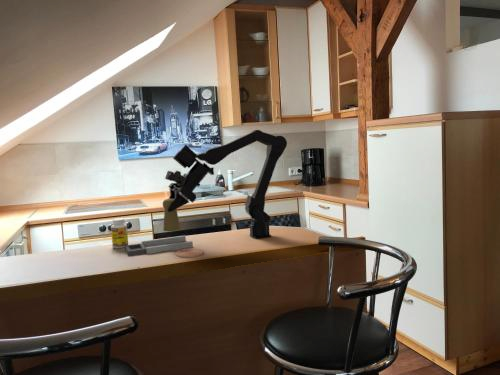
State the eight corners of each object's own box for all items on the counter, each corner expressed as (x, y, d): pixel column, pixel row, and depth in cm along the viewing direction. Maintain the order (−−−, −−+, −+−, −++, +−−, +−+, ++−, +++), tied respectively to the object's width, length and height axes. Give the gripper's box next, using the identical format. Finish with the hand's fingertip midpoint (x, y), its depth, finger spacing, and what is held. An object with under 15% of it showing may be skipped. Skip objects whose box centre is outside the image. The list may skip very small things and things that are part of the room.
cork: (178, 230, 146) (176, 199, 144) (161, 231, 146) (159, 200, 144) (181, 227, 152) (179, 197, 150) (165, 227, 152) (163, 198, 150)
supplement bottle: (110, 249, 149) (108, 221, 148) (115, 245, 155) (112, 218, 153) (126, 248, 149) (124, 220, 148) (130, 244, 155) (128, 217, 154)
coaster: (199, 248, 145) (199, 246, 144) (207, 254, 136) (207, 252, 136) (173, 252, 141) (173, 250, 141) (180, 258, 133) (180, 257, 133)
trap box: (142, 247, 150) (142, 243, 150) (146, 253, 141) (146, 248, 141) (125, 249, 147) (124, 245, 147) (128, 255, 139) (128, 251, 139)
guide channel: (185, 240, 157) (184, 235, 157) (192, 247, 147) (192, 241, 146) (141, 246, 151) (141, 241, 150) (147, 253, 141) (146, 248, 140)
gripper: (172, 161, 156) (144, 193, 153) (184, 163, 139) (153, 199, 136) (193, 180, 160) (167, 211, 157) (208, 184, 143) (179, 219, 140)
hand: (166, 210), depth 147 cm, fingers closed on cork, 5 cm apart
